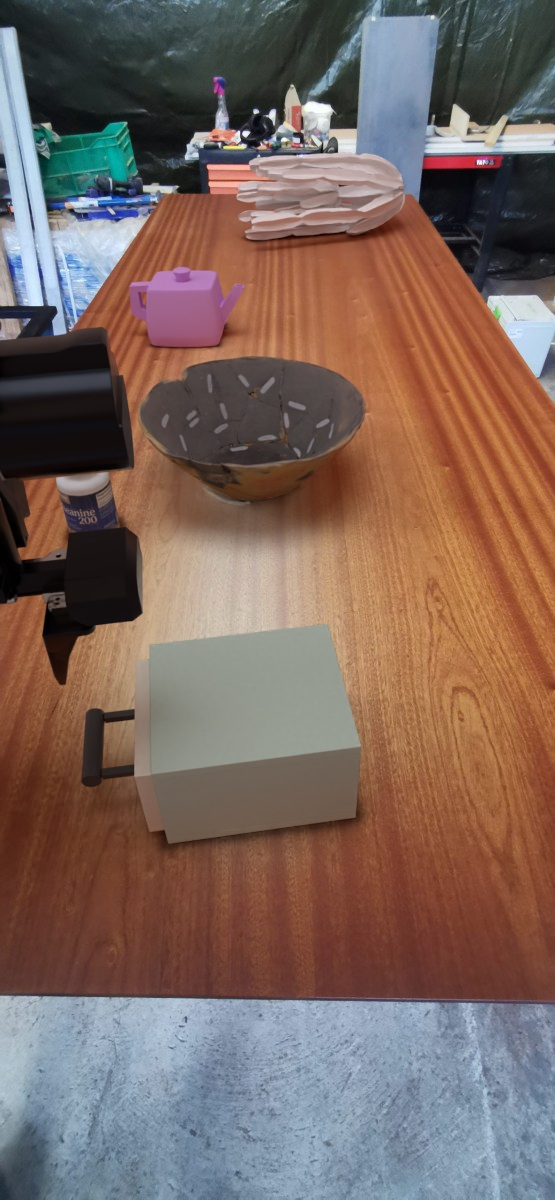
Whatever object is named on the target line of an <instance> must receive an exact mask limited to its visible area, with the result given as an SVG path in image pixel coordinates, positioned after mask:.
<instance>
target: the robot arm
mask: <svg viewBox="0 0 555 1200" xmlns="http://www.w3.org/2000/svg"><path fill="white" fill-rule="evenodd" d="M1 330H2V322H1V321H0V332H1ZM133 439H134V438H133V431H132V422H131V414H130V406H129V401H128V394H127V389H126V383H125V378H124V374H120V372H119V368H118V364H117V360H116V357H115V354H114V352H113V351H112V348H111V342H110V337H109V332H108V330H107V329H106V328H104V327H103V326H97V327H86V328H85V327H84V328H78V329H75V330H71V331H68V332H66V333H62V334H55V335H43V336H31V337H20V338H9V339H8V338H7V339H0V606H3V605H11V604H15V603H17V602H18V600H19V598H26V597H35V596H42V600H43V603H44V604H45V610H44V611H45V612H44V617H43V625H42V633H41V637H42V640H43V644H44V647H45V650H46V654H47V657H48V661H49V664H50V667H51V670H52V674H53V677H54V679H55V680H56V681H57V683H58V684H59V686H66V685H67V680H68V670H69V665H70V657H71V654H72V652H73V650H74V648H75V645H76V644H77V640H78V639H79V637H85V636H89V635H91V634H93V633H94V632H95V631H96V629H97V626H103V625H110V624H111V625H113V624H120V623H129V622H134V621H135V620H137V618H139V617H140V616H141V615H143V613H144V610H143V609H144V606H143V605H144V597H143V595H144V593H143V592H144V591H143V590H144V588H143V587H144V586H143V582H144V581H143V578H144V577H143V575H144V573H143V571H144V569H143V567H144V566H143V554H142V548H141V544H140V539H139V536H138V535H137V534H136V533H134V532H133V531H132V530H131V529H129V528H128V527H127V526H119V528H110V529H101V530H91V531H82V532H72V533H70V532H68V535H67V536H68V537H67V545H66V547H63V548H57V549H54V550H52V551H50V552H48V554H47V555H46V556H43V557H36V558H25V559H22V557H21V554H20V552H19V549H23V548H27V547H28V541H29V536H30V534H29V532H28V528H27V525H26V522H25V519H26V518H29V517H30V516H31V509H30V506H29V501H28V495H27V491H26V485H25V482H26V481H37V480H45V479H54V478H55V479H56V477H66V476H75V475H85V474H94V473H104V472H109V473H113V472H122V471H130V470H134V468H135V450H134V440H133Z"/></svg>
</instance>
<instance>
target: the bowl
mask: <svg viewBox="0 0 555 1200" xmlns="http://www.w3.org/2000/svg"><path fill="white" fill-rule="evenodd" d="M180 375H181V379H178V378H177V379H168V378H163V379H162V380H161V381H159V382H157V383H156V384H155V385H154V386H152V388H151V389H150V390H149V391H148V393H147V394H146V395H145V397H144V398H143V399H142V400H140V403H139V405H138V409H137V421H138V425H139V427H140V430H141V432H142V434H143V435H144V437H145V438H146V439H147V440H148V442H149V443H150V444H151V445H152V446H153V447H154V448H155V449H156V451H158V452H159V453H160V454H161V455H163V456H164V457H165V458H166V459H167V460H169V462H170V463H173V465H175V466H177V467H179V468H180V469H181V470H183V471H185V472H186V473H188V474H190V475H191V476H192V477H193V478H195V479H196V480H197V481H200V482H201V483H203V484H204V485H206V486H208V487H210V489H211V488H212V490H214V491H215V492H216V493H218V494H220V495H222V496H224V497H227V498H229V499H231V500H233V499H234V500H240V501H241V500H242V501H245V502H246V501H247V502H248V501H249V502H250V501H251V502H252V501H253V502H255V501H264V500H268V499H275V498H276V497H281V496H285V495H286V494H288V493H290V492H291V491H293V490H295V489H296V488H297V487H299V486H300V485H301V484H303V483H304V482H305V481H307V480H308V479H309V478H310V477H312V476H313V475H314V474H315V473H316V472H317V471H318V470H320V469H321V468H322V467H323V466H324V465H326V464H327V462H329V461H330V460H331V459H332V458H333V457H334V456H335V455H337V454H338V453H340V451H342V450H343V449H344V448H346V446H347V445H348V444H349V443H350V442H351V441H353V439H354V437H355V436H356V435H357V432H358V431H359V430H360V428H361V426H362V425H363V423H364V421H365V417H366V402H365V399H364V396H363V394H362V393H361V391H360V390H359V389H358V387H356V385H355V384H354V383H352V382H351V381H350V380H348V378H346V377H345V375H342V374H340V372H336V371H334V370H331V369H329V368H327V367H324V366H321V365H318V364H314V363H310V362H306V361H302V360H297V359H289V358H288V359H286V358H284V357H277V356H276V357H275V356H274V357H273V356H264V355H263V356H261V355H248V356H239V357H231V358H225V359H215V360H209V361H204V362H199V363H196V364H192V365H190V366H187V367H185V368H184V369H183V370H181V372H180ZM285 441H286V442H285Z"/></svg>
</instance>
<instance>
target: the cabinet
mask: <svg viewBox="0 0 555 1200" xmlns="http://www.w3.org/2000/svg"><path fill="white" fill-rule="evenodd" d="M148 650H149V651H148V653H149V654H148V655H149V658H148V659H149V661H150V740H151V776H152V780H153V784H154V788H155V793H156V797H157V801H158V805H159V809H160V813H161V817H162V821H163V825H164V829H165V830H164V832H165V836H166V840H167V843H168V845H171V844H177V843H184V842H191V841H199V840H206V839H213V838H219V837H227V836H232V835H233V836H234V835H241V834H242V835H243V834H249V833H255V832H256V833H257V832H262V831H270V830H271V831H272V830H276V829H284V828H291V827H298V826H305V825H313V824H314V825H315V824H321V823H326V822H335V821H341V820H342V821H343V820H348V819H355V818H356V816H357V806H358V793H359V783H360V781H359V779H360V769H361V768H360V767H361V757H362V756H361V755H362V754H361V753H362V744H361V739H360V737H359V732H358V729H357V725H356V721H355V717H354V714H353V710H352V707H351V703H350V699H349V696H348V692H347V689H346V686H345V685H346V684H345V681H344V678H343V673H342V670H341V667H340V662H339V659H338V655H337V651H336V648H335V644H334V641H333V637H332V634H331V630H330V626H329V624H328V623H324V624H323V623H322V624H315V625H305V626H297V627H296V626H295V627H288V628H280V629H272V630H264V631H256V632H255V631H254V632H245V633H236V634H229V635H220V636H212V637H204V638H195V639H187V640H185V639H184V640H177V641H168V642H160V643H151V644H149V645H148Z"/></svg>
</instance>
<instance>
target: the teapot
mask: <svg viewBox="0 0 555 1200" xmlns="http://www.w3.org/2000/svg"><path fill="white" fill-rule="evenodd" d="M219 277H220V276H219V274H218V272H217V271H215V270H191V268H189V267H186V266H179V267H175V268H173V269H172V270H162V271H156V272H155V274H154V276H153V277H152V278H151V280H149V281H132V282H131V283H130V285H129V287H128V289H129V300H130V312H131V314H130V315H132V316H133V317H135V318H137V319H139V320H141V321H143V322H145V323H146V328H147V329H146V330H147V336H148V339H149V342H150V343H151V345H152V346H154V347H167V348H169V347H170V348H204V347H215V346H218V345H219V344H220V342H221V339H222V337H223V332H224V328H225V324H226V323H227V321H228V319H229V317H230V316H231V314H232V311H233V310H234V308H235V306H236V305H237V303H238V300H239V298H240V297H241V295H242V293H243V291H244V289H245V284H242V283H241V284H240V283H234V285H233V287H232V288H231V290H230V291H229V293H228V294H227V295H226V296H225V298H224V293H223V289H222V285H221V281H220V278H219ZM142 293H146V298H145V299H146V302H145V304H144V302H143V296H142Z"/></svg>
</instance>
